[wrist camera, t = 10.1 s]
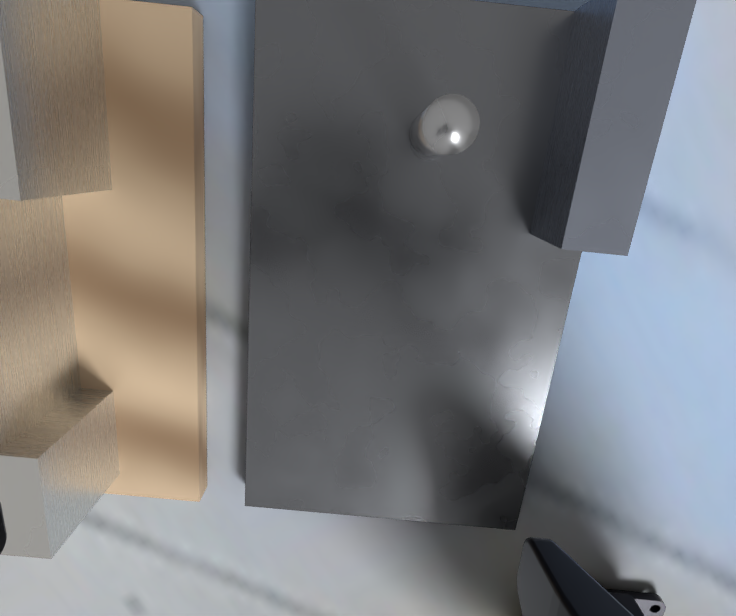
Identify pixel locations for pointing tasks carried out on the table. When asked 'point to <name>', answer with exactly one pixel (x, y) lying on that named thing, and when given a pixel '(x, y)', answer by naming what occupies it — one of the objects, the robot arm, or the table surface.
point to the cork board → (147, 251)
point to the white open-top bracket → (48, 272)
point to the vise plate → (432, 236)
